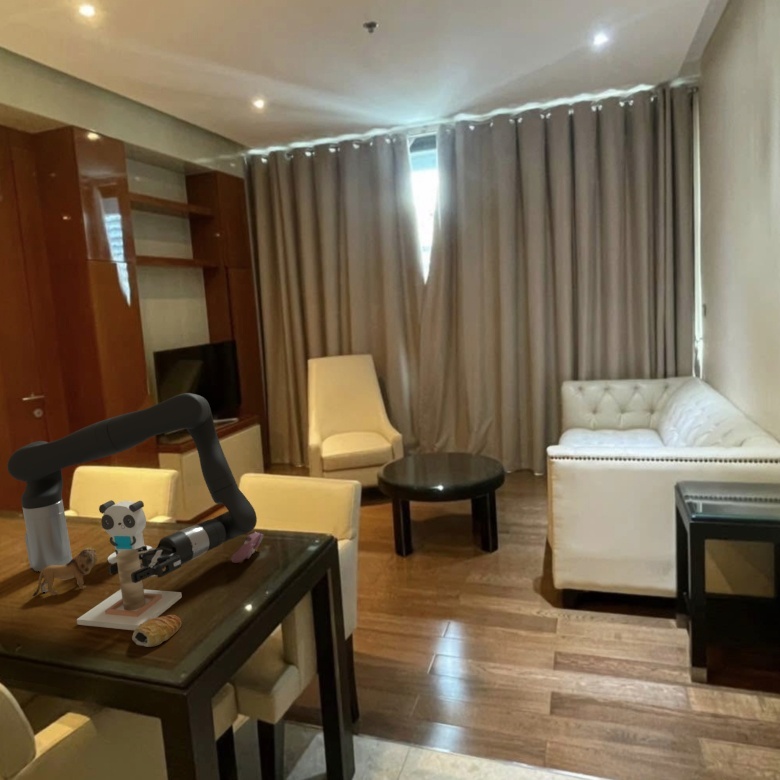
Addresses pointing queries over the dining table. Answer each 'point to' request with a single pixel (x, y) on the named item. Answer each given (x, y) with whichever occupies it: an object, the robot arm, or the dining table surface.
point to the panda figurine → (123, 525)
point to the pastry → (156, 630)
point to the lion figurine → (68, 571)
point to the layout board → (117, 617)
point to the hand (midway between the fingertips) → (121, 574)
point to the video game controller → (248, 547)
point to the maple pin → (130, 590)
